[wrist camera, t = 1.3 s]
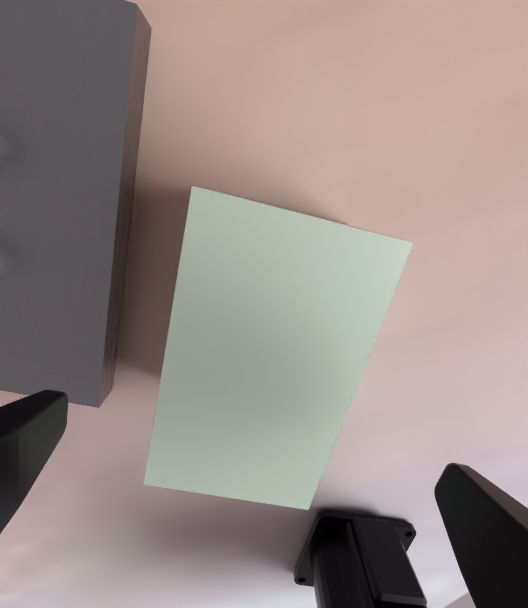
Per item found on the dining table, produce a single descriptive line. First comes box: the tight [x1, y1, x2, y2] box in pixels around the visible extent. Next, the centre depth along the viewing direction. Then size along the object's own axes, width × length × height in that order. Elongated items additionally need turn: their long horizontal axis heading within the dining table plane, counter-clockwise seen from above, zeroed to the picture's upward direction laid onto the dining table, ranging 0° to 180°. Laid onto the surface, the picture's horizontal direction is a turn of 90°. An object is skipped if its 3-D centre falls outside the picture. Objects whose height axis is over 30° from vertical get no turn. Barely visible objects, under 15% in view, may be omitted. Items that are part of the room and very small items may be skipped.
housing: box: [143, 186, 413, 510], centre depth 12 cm, size 10×6×6 cm, turn 166°
